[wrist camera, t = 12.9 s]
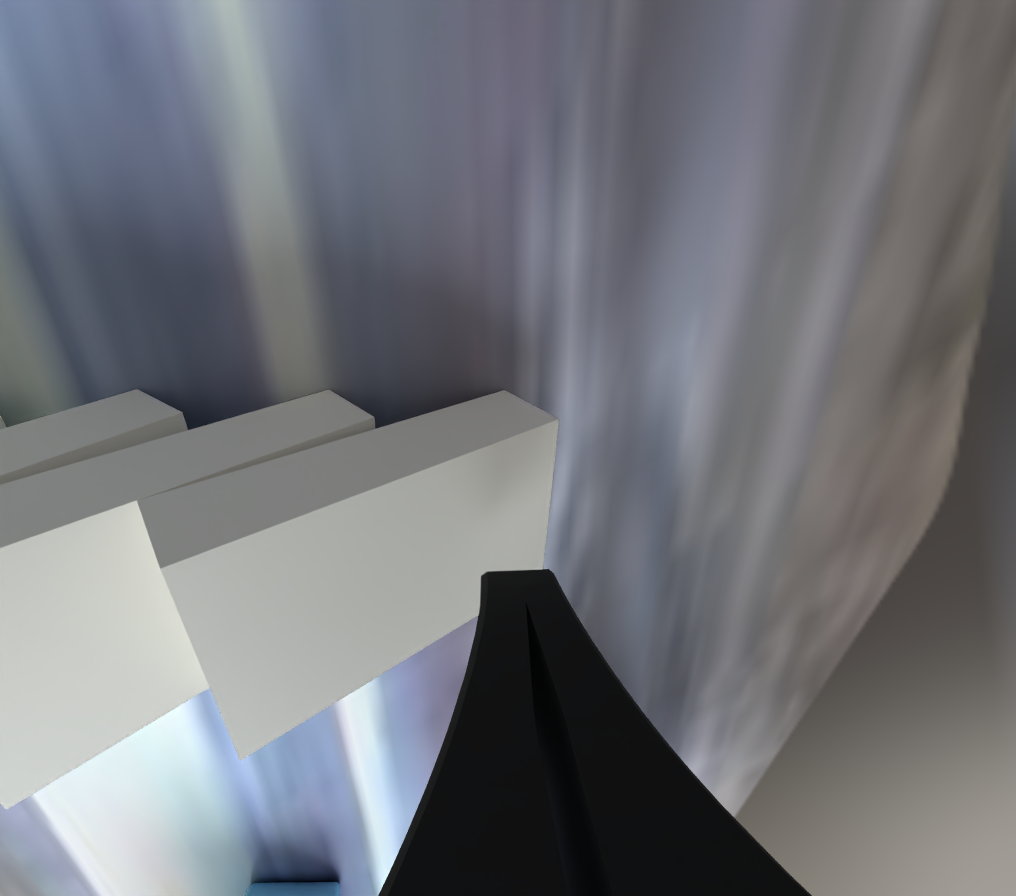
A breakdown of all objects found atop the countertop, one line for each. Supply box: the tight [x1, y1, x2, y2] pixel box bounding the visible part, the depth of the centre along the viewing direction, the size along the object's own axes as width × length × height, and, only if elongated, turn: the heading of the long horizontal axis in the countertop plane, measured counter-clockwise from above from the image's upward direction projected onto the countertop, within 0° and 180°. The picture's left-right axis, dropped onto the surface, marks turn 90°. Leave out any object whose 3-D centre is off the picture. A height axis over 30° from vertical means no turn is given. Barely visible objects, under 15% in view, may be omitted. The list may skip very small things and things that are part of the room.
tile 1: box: [137, 390, 559, 760], centre depth 11 cm, size 5×2×8 cm
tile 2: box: [0, 390, 375, 810], centre depth 11 cm, size 5×2×8 cm
